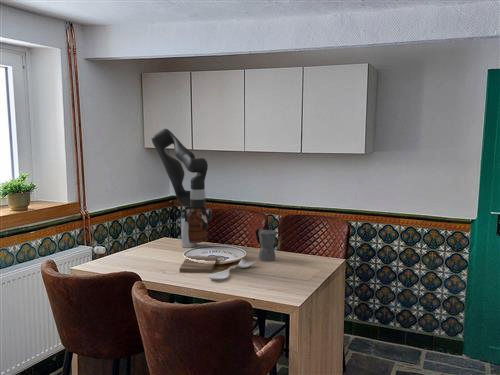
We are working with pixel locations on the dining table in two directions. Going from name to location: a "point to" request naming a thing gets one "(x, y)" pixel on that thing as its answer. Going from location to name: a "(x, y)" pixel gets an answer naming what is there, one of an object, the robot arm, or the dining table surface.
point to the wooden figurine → (196, 226)
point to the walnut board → (198, 264)
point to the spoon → (225, 273)
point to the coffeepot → (266, 244)
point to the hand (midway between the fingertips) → (198, 229)
